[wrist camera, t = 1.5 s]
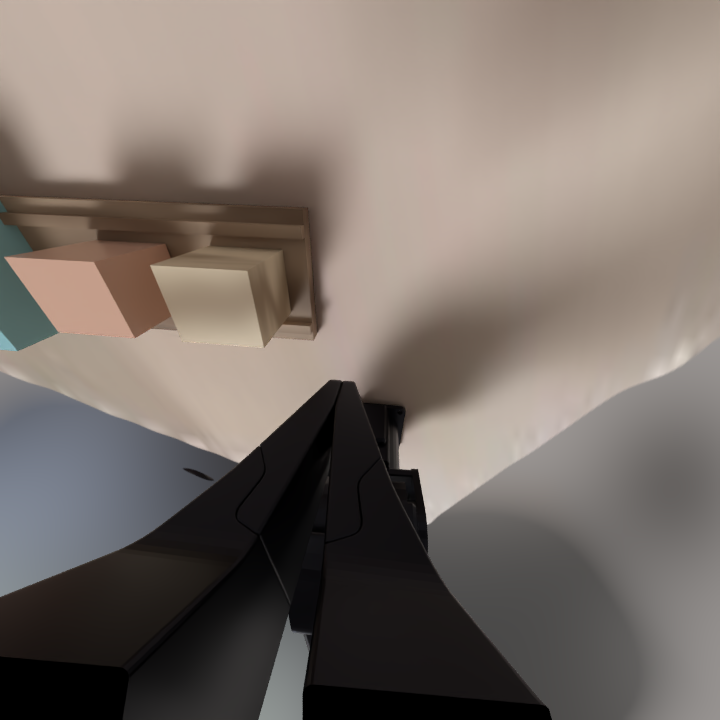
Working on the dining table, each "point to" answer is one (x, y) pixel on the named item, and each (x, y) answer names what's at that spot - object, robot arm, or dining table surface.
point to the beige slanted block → (226, 294)
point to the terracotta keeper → (96, 286)
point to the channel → (179, 236)
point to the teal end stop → (18, 298)
